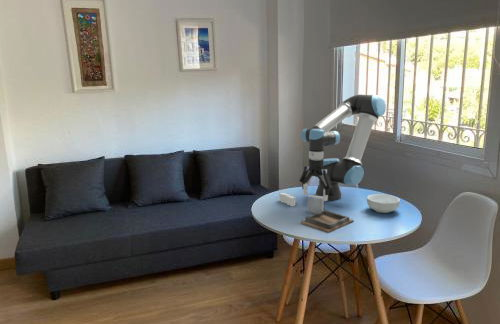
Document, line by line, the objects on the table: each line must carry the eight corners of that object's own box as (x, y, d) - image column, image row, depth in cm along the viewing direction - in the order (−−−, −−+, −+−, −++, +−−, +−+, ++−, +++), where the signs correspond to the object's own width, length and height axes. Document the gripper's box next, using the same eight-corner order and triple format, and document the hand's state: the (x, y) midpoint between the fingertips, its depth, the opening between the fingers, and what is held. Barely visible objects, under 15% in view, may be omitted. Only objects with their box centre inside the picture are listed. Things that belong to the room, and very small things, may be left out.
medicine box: (323, 211, 218) (324, 196, 216) (321, 214, 214) (321, 198, 212) (309, 210, 221) (309, 194, 219) (307, 212, 217) (307, 197, 215)
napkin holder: (276, 200, 239) (276, 191, 238) (295, 200, 240) (295, 191, 238) (278, 209, 225) (278, 199, 224) (299, 208, 225) (299, 198, 224)
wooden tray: (325, 213, 215) (326, 208, 214) (353, 221, 202) (353, 216, 202) (300, 223, 202) (301, 218, 201) (328, 232, 189) (328, 227, 189)
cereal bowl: (401, 217, 208) (402, 203, 206) (367, 215, 211) (368, 202, 209) (396, 206, 224) (397, 194, 222) (365, 205, 227) (366, 193, 226)
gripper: (293, 156, 218) (292, 194, 222) (331, 163, 199) (329, 204, 204) (302, 154, 223) (301, 191, 227) (340, 161, 204) (338, 201, 209)
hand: (315, 198), depth 215 cm, fingers open, 13 cm apart
